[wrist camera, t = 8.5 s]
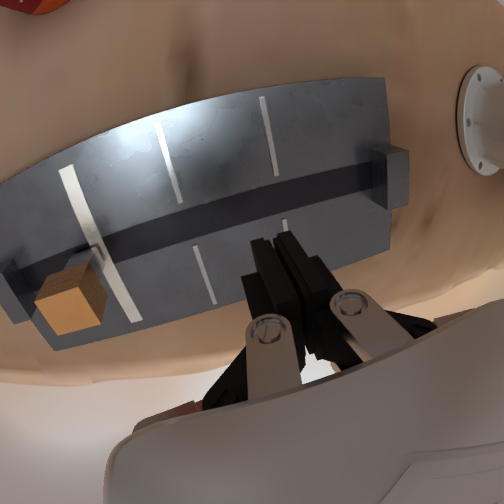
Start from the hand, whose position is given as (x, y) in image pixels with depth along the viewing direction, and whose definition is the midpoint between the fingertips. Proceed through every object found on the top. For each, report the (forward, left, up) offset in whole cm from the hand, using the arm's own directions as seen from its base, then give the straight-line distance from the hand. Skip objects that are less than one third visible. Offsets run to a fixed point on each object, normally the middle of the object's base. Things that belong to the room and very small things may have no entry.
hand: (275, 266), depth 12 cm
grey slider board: (+3, 0, -9) cm, 10 cm away
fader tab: (+10, 0, -7) cm, 12 cm away
